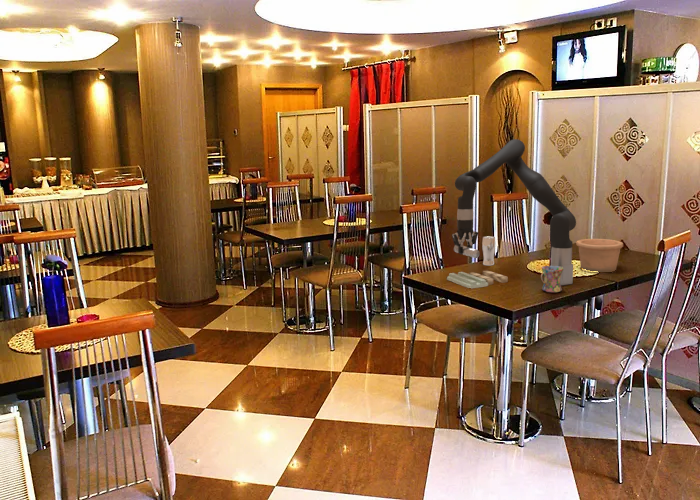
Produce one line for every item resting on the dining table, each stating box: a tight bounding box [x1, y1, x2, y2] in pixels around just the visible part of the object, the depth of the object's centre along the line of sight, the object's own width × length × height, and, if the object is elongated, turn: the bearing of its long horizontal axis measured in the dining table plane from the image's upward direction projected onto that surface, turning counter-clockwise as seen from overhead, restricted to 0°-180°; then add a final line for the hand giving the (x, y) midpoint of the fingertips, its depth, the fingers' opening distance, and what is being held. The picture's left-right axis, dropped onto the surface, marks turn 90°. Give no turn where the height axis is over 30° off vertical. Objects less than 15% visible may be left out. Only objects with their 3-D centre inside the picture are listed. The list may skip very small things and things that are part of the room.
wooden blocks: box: [468, 270, 509, 286], centre depth 286 cm, size 16×11×2 cm
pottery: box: [575, 238, 624, 273], centre depth 300 cm, size 22×22×14 cm
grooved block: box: [446, 271, 489, 289], centre depth 282 cm, size 20×10×3 cm, turn 22°
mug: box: [540, 265, 564, 293], centre depth 262 cm, size 12×9×11 cm
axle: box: [453, 245, 481, 259], centre depth 280 cm, size 16×4×4 cm, turn 22°
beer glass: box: [481, 235, 496, 266], centre depth 319 cm, size 7×7×15 cm
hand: (464, 253), depth 282 cm, fingers closed on axle, 4 cm apart
